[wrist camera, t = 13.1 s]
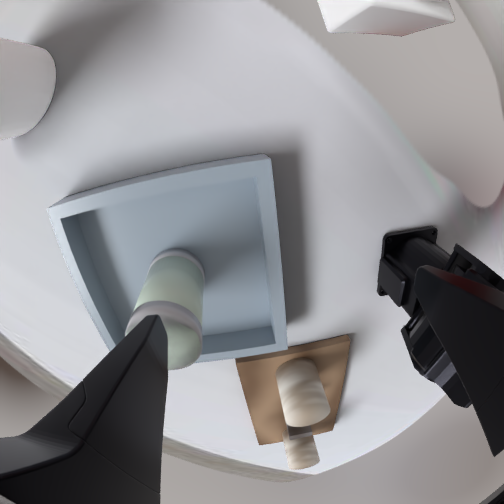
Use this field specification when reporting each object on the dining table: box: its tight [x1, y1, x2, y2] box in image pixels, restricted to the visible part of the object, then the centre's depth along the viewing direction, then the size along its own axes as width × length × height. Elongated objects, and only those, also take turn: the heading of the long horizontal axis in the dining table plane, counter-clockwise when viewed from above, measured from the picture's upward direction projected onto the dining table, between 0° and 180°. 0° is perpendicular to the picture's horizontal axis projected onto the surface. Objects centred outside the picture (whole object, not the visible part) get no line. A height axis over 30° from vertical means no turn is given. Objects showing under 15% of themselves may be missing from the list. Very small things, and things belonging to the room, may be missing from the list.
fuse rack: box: [235, 335, 350, 470], centre depth 29 cm, size 12×22×7 cm, turn 7°
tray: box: [47, 154, 288, 363], centre depth 21 cm, size 16×16×3 cm
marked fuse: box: [125, 248, 205, 370], centre depth 18 cm, size 4×4×8 cm
